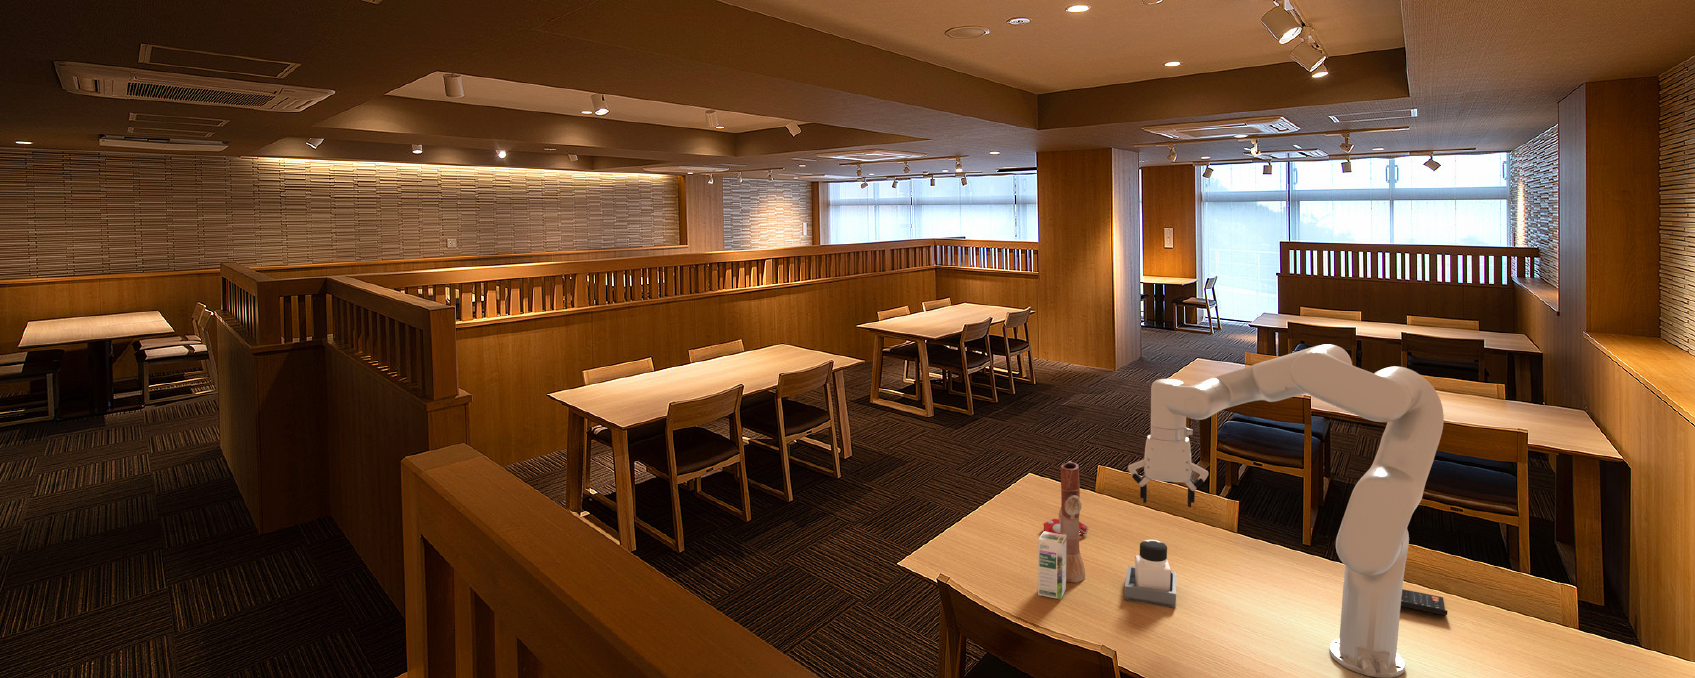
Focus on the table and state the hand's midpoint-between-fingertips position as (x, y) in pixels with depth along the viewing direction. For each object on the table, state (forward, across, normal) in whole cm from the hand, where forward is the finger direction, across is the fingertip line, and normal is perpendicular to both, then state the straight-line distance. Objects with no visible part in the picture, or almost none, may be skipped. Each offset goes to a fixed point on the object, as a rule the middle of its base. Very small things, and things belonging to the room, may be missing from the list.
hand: (1166, 503), depth 179 cm
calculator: (+24, -53, -12) cm, 59 cm away
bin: (+23, +3, +1) cm, 23 cm away
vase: (+23, +22, -1) cm, 32 cm away
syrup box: (+23, +25, +8) cm, 35 cm away
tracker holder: (+23, +26, -26) cm, 43 cm away
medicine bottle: (+22, +3, +1) cm, 22 cm away
